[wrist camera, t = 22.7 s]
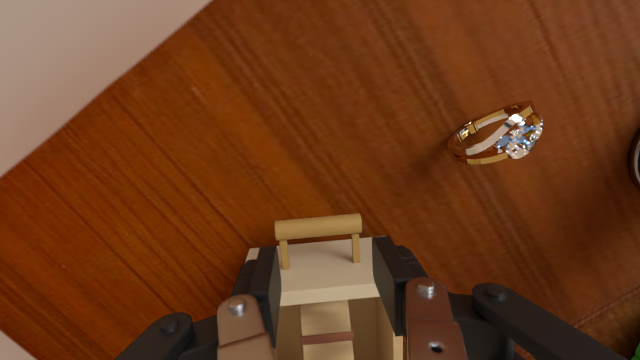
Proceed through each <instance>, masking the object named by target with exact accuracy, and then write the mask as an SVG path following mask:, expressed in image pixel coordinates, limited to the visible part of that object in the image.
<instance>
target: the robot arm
mask: <svg viewBox="0 0 640 360" xmlns="http://www.w3.org/2000/svg"><path fill="white" fill-rule="evenodd" d="M629 169H630V173H631V176H632V179H633V181H634V182H635V184H636V185H637V186H638V187H639V188H640V131H639V133H638V134H637V136H636V138H635V140H634V142H633V144H632V147H631V151H630V156H629ZM372 266H373V277H374V281H375V285H376V287H377V290H378V292H379V295H380V298H381V300H382V303H383V305H384V308H385V311H386V313H387V316H388V318H389V321H390V324H391V326H392V329H393V331H394V334H395V337H397V336H405V338H406V360H525V359H524V358H523V357H521V356H520V355H519V354H518V353H516V352H515V342H516V343H517V344H518V345H520V346H521V347H522V348H524V349H525V350H526V351H528V352H529V353H530V354H531V355H533V356H534V358H535V359H536V360H628V359H626V358H625V357H623V356H621V355H620V354H618V353H616V352H615V351H613V350H611V349H610V348H608V347H606V346H605V345H603V344H601V343H600V342H598V341H596V340H595V339H593V338H591V337H590V336H588V335H586V334H585V333H583V332H581V331H580V330H578V329H576V328H574V327H573V326H571V325H569V324H568V323H566V322H564V321H563V320H561V319H559V318H558V317H556V316H554V315H553V314H551V313H549V312H548V311H546V310H544V309H543V308H541V307H539V306H538V305H536V304H534V303H533V302H531V301H529V300H528V299H526V298H524V297H523V296H521V295H519V294H518V293H516V292H514V291H513V290H511V289H509V288H507V287H505V286H502V285H498V284H493V283H482V284H478V285H476V286H475V287H474V288H473V290H472V295H462V294H454V293H450V292H447V289H446V287H445V285H444V284H443V283H441V282H440V281H438V280H436V279H433V278H429V277H428V275H427V274H426V272H425V271H424V269H423V268H422V266H421V265H420V264H419V262H418V261H417V259H416V258H415V256H414V255H413V253H412V252H411V251H410V250H409V249H407V248H405V247H404V246H395V245H394V243H393V242H392V240H391V238H390V237H389V236H381V237H372ZM280 300H281V274H280V266H279V258H278V250H277V246H271V247H261V248H260V249H259V252H258V256H257V259H250V260H248V261H246V262H245V263H244V264H243V265H242V266H241V269H240V272H239V275H238V277H237V281H236V283H235V286H234V289H233V292H232V295H231V297H230V298H228V299H226V300H224V301H223V302H222V303H221V304H220V305H219V306H218V308H217V314H216V315H214V316H212V317H210V318H207V319H204V320H201V321H197V322H194V323H193V321H192V318H191V316H190V315H189V314H186V313H173V314H169V315H166V316H164V317H162V318H160V319H158V320H157V321H155V322H154V323H153V324H152V325H150V326H149V327H148V328H147V329H146V330H145V331H144V332H143V333H142V334H141V335H140V336H139V337H138V338H137V339H136V340H134V341H133V342H132V343H131V344H130V345H129V346H128V347H127V348H126V349H125V350H124V351H123V352H122V353H121V354H120V355H119V356H117V357H116V358H115V359H114V360H276V358H275V355H274V351H273V349H275V348H276V339H277V329H278V320H279V310H280Z"/></svg>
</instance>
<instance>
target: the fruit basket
mask: <svg viewBox="0 0 640 360" xmlns="http://www.w3.org/2000/svg"><path fill="white" fill-rule="evenodd" d="M635 354H636V355H634V356H633V357H632V359H631V360H640V342H639V344H638V346H637V348H636V351H635Z"/></svg>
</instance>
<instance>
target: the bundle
mask: <svg viewBox="0 0 640 360" xmlns="http://www.w3.org/2000/svg"><path fill="white" fill-rule="evenodd" d="M300 316H301V336H300V342H301V345H303V357H304V360H354V353H353V344H352V340H354V335H353V331H352V328H351V324H350V315H349V305H348V300H340V301H329V302H319V303H309V304H300Z"/></svg>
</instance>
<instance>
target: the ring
mask: <svg viewBox="0 0 640 360" xmlns="http://www.w3.org/2000/svg"><path fill="white" fill-rule="evenodd" d="M508 117H510V118H509V119H508V120H506V121H505V122H504V123H503V124H502V125H501V126H500V127H499V128H498V129H497V130H496V131H495V132H494V133H493V134H492V135H490V136H489V137H488V138H487V139H485V140H484V141H482V142H480V143H478V144H476V145H473V146H468V147H459V144H460V142H461V141H462V140H463V139H464V138H465V137H466V136H468V135H469V134H473V133H475V132H477V131H478V130H479V128H481V127H483V126H485V125H487V124H489V123H492V122H494V121H497V120H500V119H504V118H508ZM526 117H529V118H530V119H531V120H532V125H527V124H524V123H525V121H526V119H525V118H526ZM511 127H512V128H511ZM510 128H511V129H510ZM509 129H510V130H509ZM542 129H543V120H542V118H541V116H540V113H539V112H538V111H537V110H536V109H535V106H534V104H533V102H532V101H524V102H519V103H515V104H512V105H509V106H506V107H503V108H500V109H498V110H495V111H493V112H490V113H488V114H486V115H483V116H481V117H479V118H477V119H475V120H473V121H469V122H467V123H466V124H464V126H463V127H462V128H460V129H459V130H457V131H456V132H455V133H454V134H453V135H452V136H451V137H450V139H449V141H448V147H449V150H450V152H451V154H452V156H453V157H454V158H455V159H456V160H457V161H459V162H462V163H466V164H485V163H491V162H496V161H499V160H503V159H506V158H512V159H517V158H521V157H523V156H525V155H526V154H528V153H529V152H530V151H531V150H532V148H533V147H534V146H535V144H536V142H537V140H538V139H539V137H540V134H541V132H542ZM508 130H509V131H508ZM507 131H508V132H507ZM528 131H529V132H528ZM526 132H528V134H527V136H526V138H525V137H524V136H523V135H522V134H521V133H526ZM494 143H495V144H494ZM517 144H520V146H517ZM491 145H493V149H494V150H492V151H489V152H485V153H479V152H481V151H483V150H485V149H487V148H488V147H490V146H491ZM512 149H515V150H512ZM476 153H478V154H476Z"/></svg>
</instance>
